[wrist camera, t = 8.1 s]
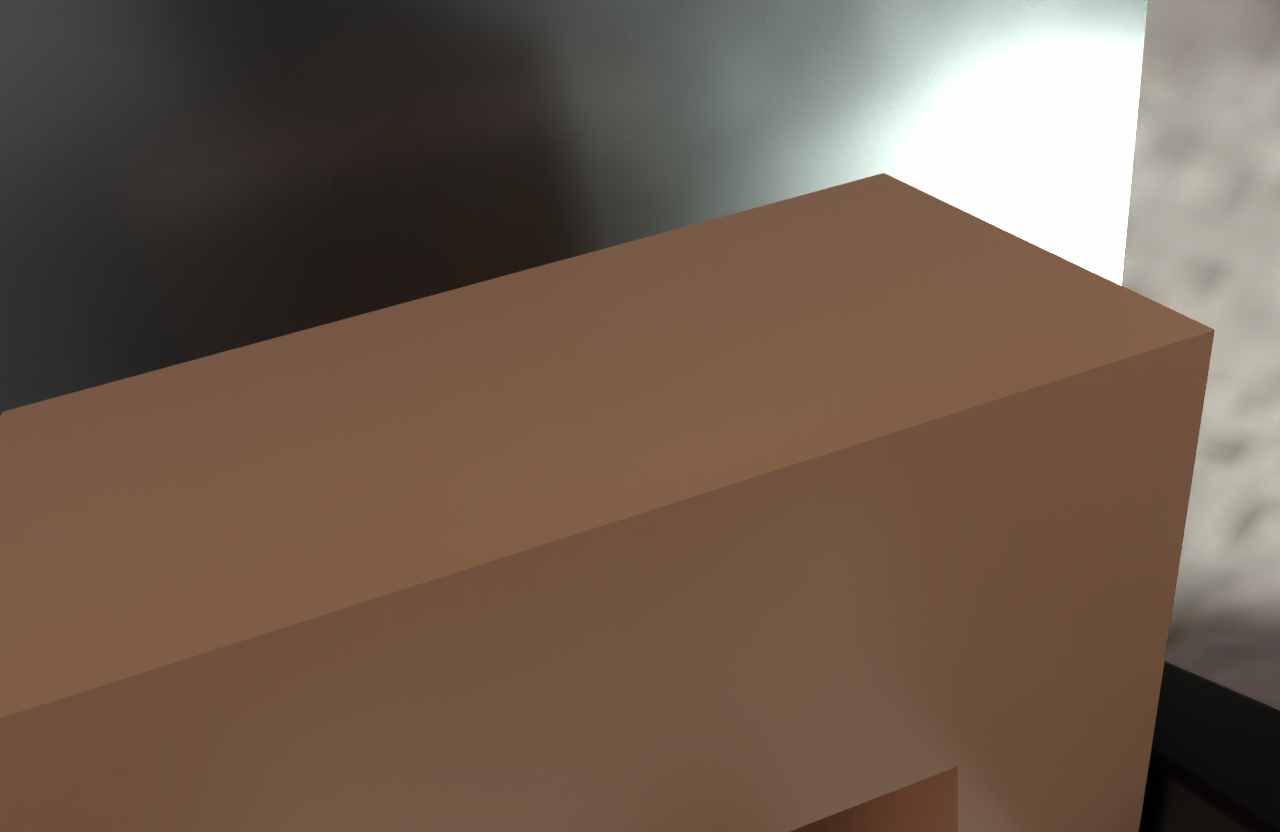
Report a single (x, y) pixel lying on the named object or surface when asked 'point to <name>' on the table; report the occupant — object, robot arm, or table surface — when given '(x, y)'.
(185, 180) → the hub base
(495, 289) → the square tube wooden block
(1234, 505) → the table surface
